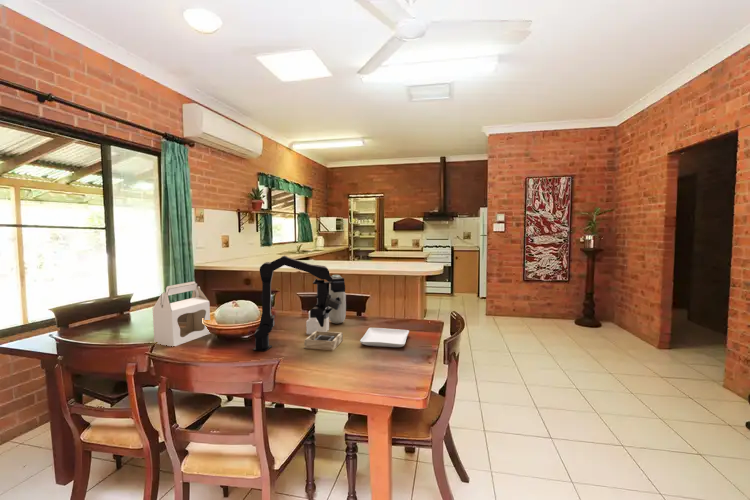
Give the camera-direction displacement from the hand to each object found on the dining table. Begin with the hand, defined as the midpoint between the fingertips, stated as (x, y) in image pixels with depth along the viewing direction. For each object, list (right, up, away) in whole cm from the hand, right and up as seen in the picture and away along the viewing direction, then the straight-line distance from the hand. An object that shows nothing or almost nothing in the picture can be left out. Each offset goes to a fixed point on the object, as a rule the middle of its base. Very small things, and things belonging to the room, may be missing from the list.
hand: (323, 325), depth 165 cm
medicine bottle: (-7, -8, +19) cm, 22 cm away
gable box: (-72, -9, +11) cm, 74 cm away
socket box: (0, -9, +1) cm, 9 cm away
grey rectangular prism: (0, -3, 0) cm, 2 cm away
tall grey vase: (+2, -7, +36) cm, 37 cm away
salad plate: (+30, -9, +5) cm, 31 cm away
